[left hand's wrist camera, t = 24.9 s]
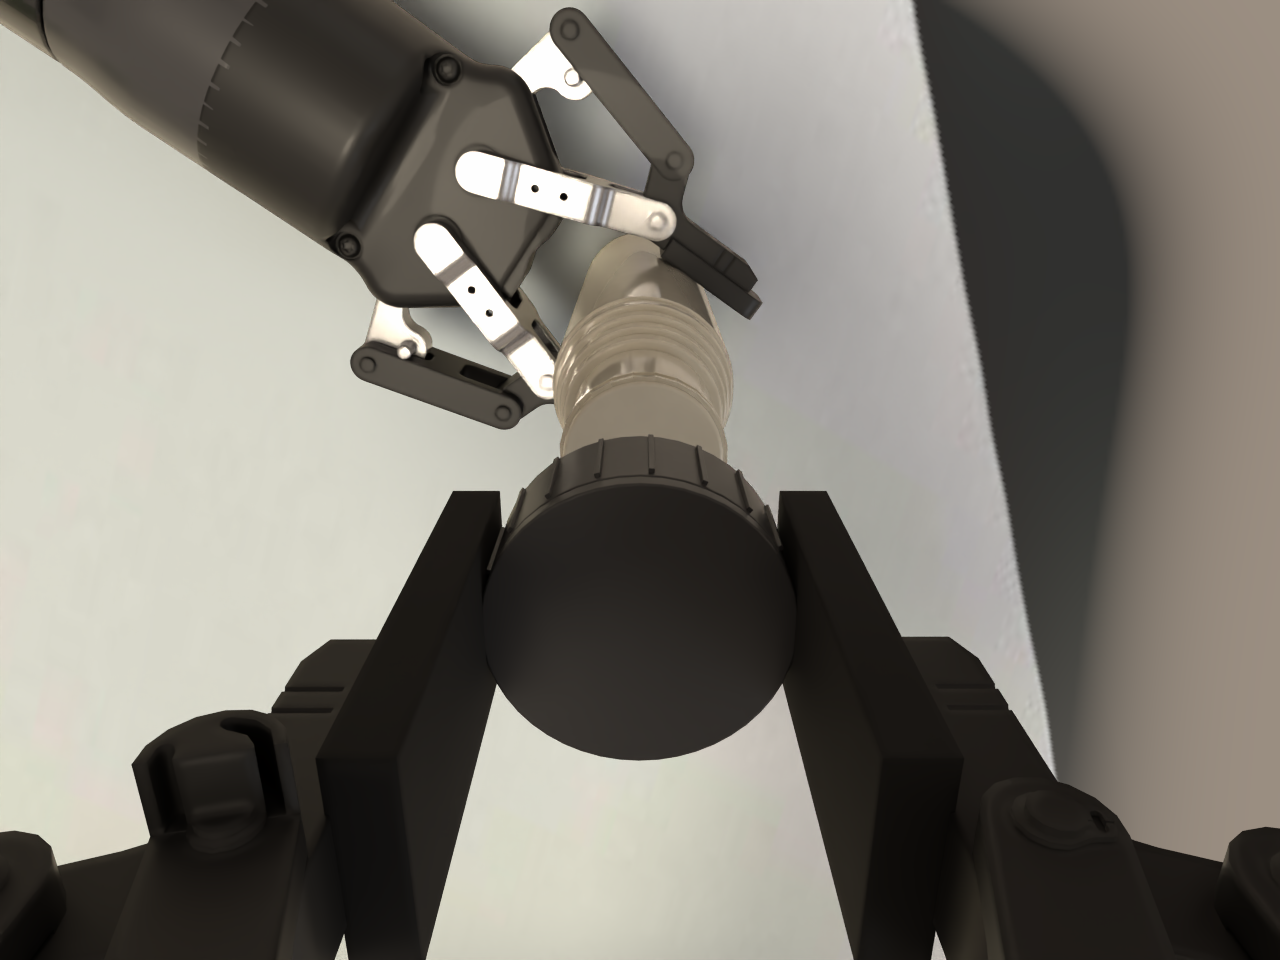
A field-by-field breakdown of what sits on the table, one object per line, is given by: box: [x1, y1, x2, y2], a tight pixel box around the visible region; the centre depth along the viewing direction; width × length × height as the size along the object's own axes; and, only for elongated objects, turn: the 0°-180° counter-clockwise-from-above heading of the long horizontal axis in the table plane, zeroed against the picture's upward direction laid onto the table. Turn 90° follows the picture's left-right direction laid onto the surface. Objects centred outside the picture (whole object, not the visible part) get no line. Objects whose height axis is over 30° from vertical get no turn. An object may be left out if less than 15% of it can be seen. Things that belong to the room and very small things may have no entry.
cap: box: [482, 434, 797, 761], centre depth 14 cm, size 5×5×2 cm
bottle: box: [553, 234, 733, 463], centre depth 28 cm, size 5×5×20 cm
